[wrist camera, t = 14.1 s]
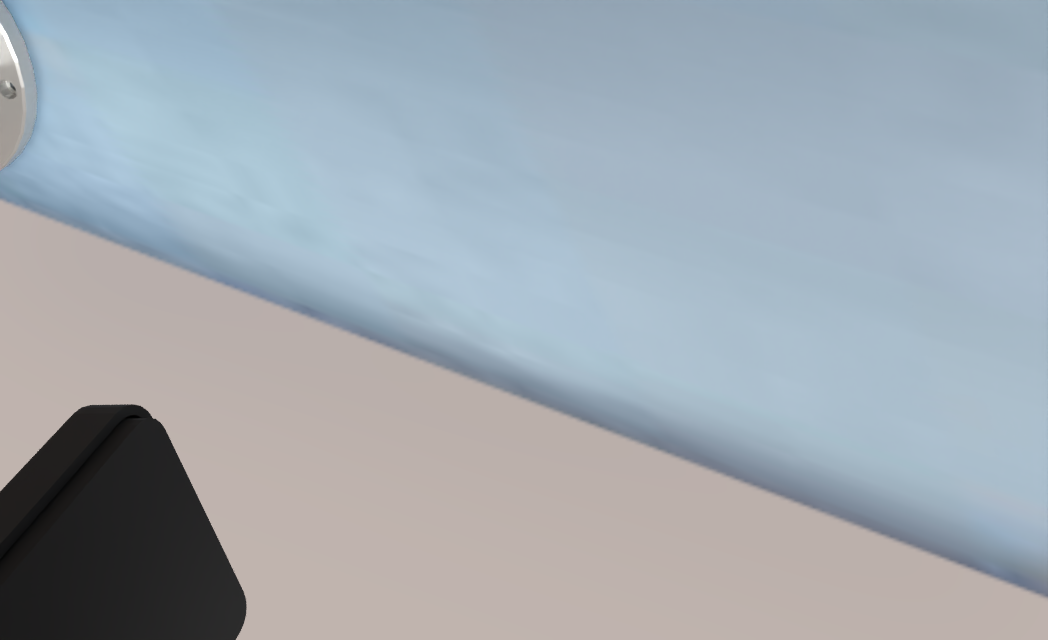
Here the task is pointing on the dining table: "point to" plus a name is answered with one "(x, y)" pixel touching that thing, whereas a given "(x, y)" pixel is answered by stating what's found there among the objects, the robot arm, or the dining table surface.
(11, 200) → the dining table surface
